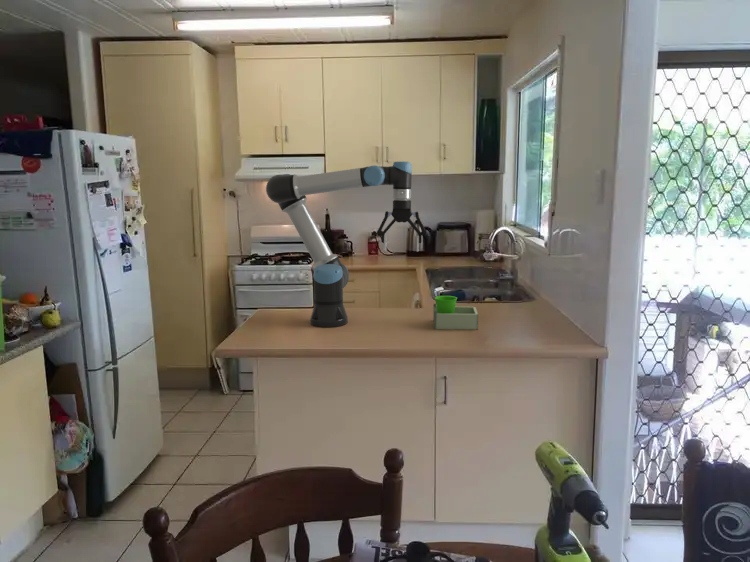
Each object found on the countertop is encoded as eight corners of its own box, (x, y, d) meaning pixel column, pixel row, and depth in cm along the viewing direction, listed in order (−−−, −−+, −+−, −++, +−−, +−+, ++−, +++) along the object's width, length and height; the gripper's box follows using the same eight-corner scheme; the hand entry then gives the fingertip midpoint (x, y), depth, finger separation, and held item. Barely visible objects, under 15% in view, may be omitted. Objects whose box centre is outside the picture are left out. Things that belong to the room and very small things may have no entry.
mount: (433, 329, 230) (434, 311, 228) (433, 320, 243) (433, 303, 242) (477, 329, 228) (478, 311, 227) (474, 320, 242) (475, 303, 240)
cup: (456, 328, 231) (456, 300, 229) (433, 327, 233) (433, 299, 231) (457, 322, 239) (458, 296, 237) (435, 321, 241) (435, 295, 239)
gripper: (370, 199, 240) (370, 251, 244) (432, 200, 237) (431, 252, 241) (372, 199, 247) (372, 249, 251) (432, 199, 245) (431, 250, 248)
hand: (401, 250), depth 246 cm, fingers open, 13 cm apart
